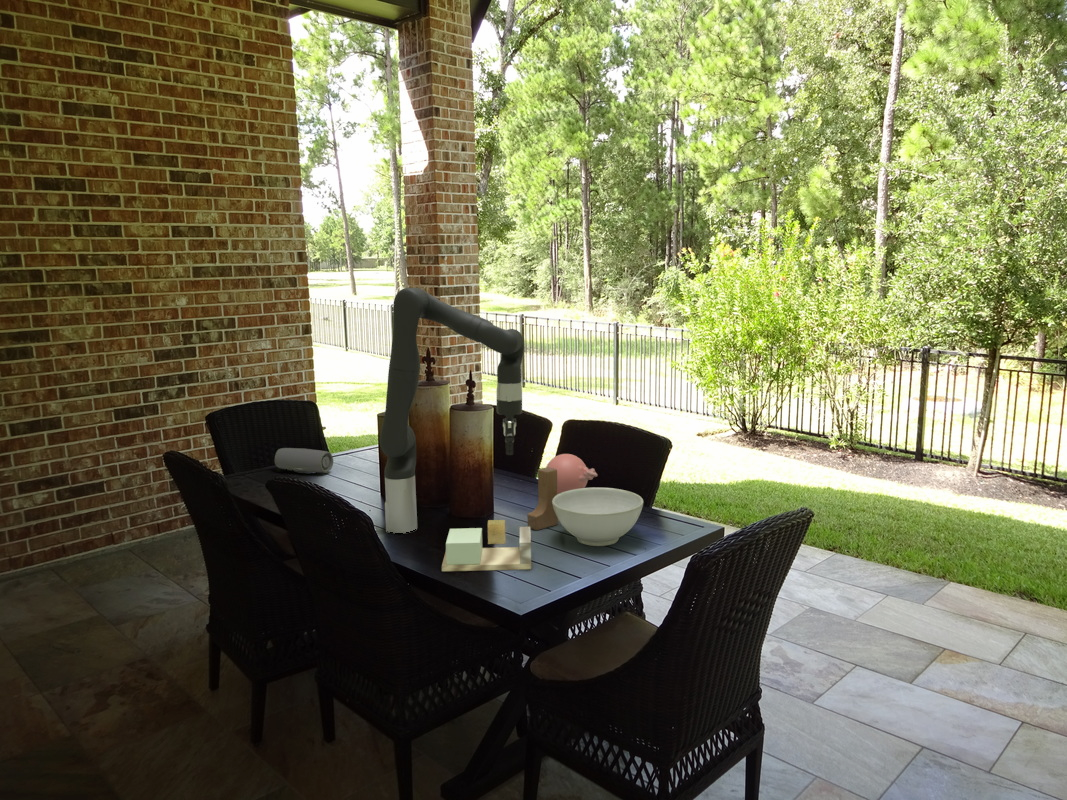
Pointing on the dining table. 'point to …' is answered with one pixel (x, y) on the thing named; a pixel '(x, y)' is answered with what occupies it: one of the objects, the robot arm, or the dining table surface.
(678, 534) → the dining table surface
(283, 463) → the bluetooth speaker
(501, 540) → the brass block
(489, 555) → the vise
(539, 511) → the wooden block
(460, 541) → the block
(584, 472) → the balloon
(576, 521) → the decorative bowl
